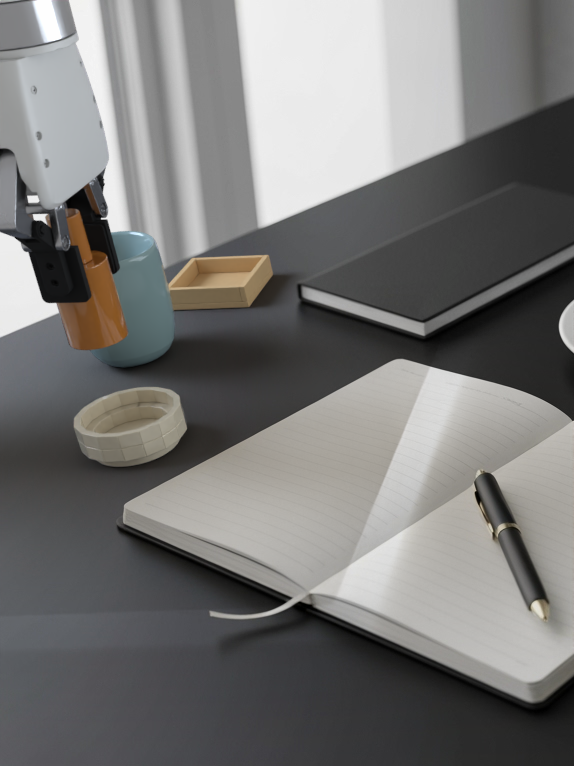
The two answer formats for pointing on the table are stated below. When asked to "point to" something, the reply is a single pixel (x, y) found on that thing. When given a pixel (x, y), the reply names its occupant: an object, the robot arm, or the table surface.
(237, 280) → the tray
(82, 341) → the bottle
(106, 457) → the bowl
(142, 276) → the cup
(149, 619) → the table surface
